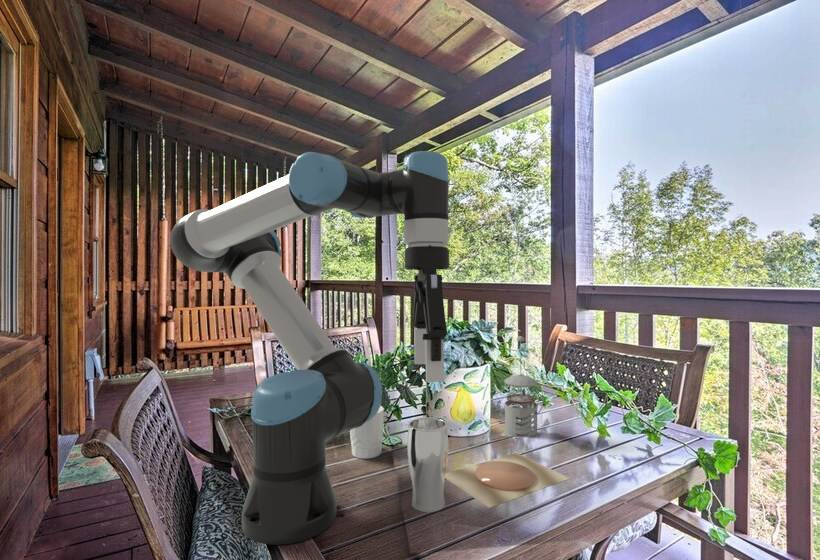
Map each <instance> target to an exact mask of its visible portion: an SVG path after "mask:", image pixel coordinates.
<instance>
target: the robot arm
mask: <svg viewBox="0 0 820 560" xmlns="http://www.w3.org/2000/svg"><path fill="white" fill-rule="evenodd" d="M448 165H449V164H448V159H447V157H446V156H445V155H444V154H442V153H440V152H437V151H432V150H431V151H430V150H428V151H427V150H422V151H421V150H420V151H414V152H411V153H409V154H406V155H405V156H404V158H403V165H402V169H398V170H393V171H386V172H377V171H374V170H371V169H368V168H365V167H362V166H359V165H355V164H353V163H350V162H347V161H345V160H342V159H339V158H336V157H334V156H333V155H330V154H324V153H319V152H315V151H307V152H304V153H302V154H301V155H299V156H298V157H297V158H296V160H295V162H294V163H292V164H291V166H290V169H289V173H288V174H287V175H285V176H283V177H280V178H278V179H276V180H274V181H271V182H269V183H267V184H265V185H263V186H261V187H258V188H255V189H253V190H252V191H250V192H248V193H245V194H243V195H241V196H238V197H237V198H234V199H232V200H230V201H228V202H226V203H224V204H221V205H219V206H217V207H215V208H212V209H205V208H204V209H203V208H202V209H196V210H195V211H193V212H190V213H188V214H186V215H184V216H183V217H181V218H180V219H179V220H178V221H177V222H176V223H175V225H174V226H173V228H172V229H171V232H170V240H169V241H170V242H169V243H170V247H171V251H172V253H173V254H174V256H175V258H176V259H177V260H178V261H179V262H180V263H181V264H182V265H184V266H185V267H187V268H189V269H192V270H194V271H195V272H196V271H197V272H200V273H201V272H202V273H225V274H226V275H227V277H228V278H229V280H230V281H231V283H232V285H234V286H235V288H238V289H242V290H245V291H246V293H247V295H248V297H250V300H252V302H253V303H254V306H255V307H256V309H257V310H258V311H259V313H260V314H261V317H262V318H263V320H265V322H266V324H267V326H268V327H269V329H270V330H271V331H272V333H273V335H274V336H275V338H276V340H277V342H279V344H280V347H282V348H283V351H284V352H285V353H286V355H287V356H288V359H290V361H291V363H292V364H293V366H294V368H295V369H294V370H292V371H283V372H280V373H277V374H274V375H271V376H269V377H267V378H264V379H263V380H261V382H259V383H258V384H257V385H256V386H255V388H254V390H253V393H252V404H251V405H252V407H251V408H250V409H251V411H250V417H251V424H252V425H251V429H252V431H251V432H252V478H251V481H250V484H249V487H248V492H247V494H246V497H245V501H244V504H243V506H242V510H241V530H242V532H243V534H244V535H245V536H246V537H247V538H248V539H249V540H252V541H254V542H256V543H259V544H263V545H271V546H272V545H275V546H277V545H278V546H281V545H289V544H294V543H299V542H302V541H306V540H309V539H312V538H314V537H315V536H317V535H319V534H321V533H323V532H324V531H325V530H327V529H328V528H329V527H330V526H331V525H332V524H333V522H335V519H336V517H337V512H338V511H337V497H336V493H335V491H334V488H333V484H332V481H331V479H330V475H329V473H328V470H327V467H326V443H327V442H328V441H330V440H332V439H334V438H337V437H339V436H341V435H344V434H345V433H347V432H350V430H351V429H354V428H357V427H360V426H362V425H363V424H364V423H365V422H367V421H368V420H370V419H371V418H373V417H374V416H375V415H376V413H377V412H378V410H379V408H380V406H382V405H381V404H382V401H383V400H382V396H383V386H382V385H383V384H382V381H381V378H380V376H379V374H378V373H377V371H376V370H375V368H373V367H372V366H371V365H370V364H367V363H363V362H356V361H355V360H354V358H353V357H352V356H351V354H350V353H349V352H348V350H347V349H346V348H340V347H336V346H335V345H334V343H333V342H332V341H331V339H330V337H328V335H327V334H326V332H325V330H324V329H323V328H322V327H321V325H320V324H319V322H318V321H317V319H316V317H315V316H314V315H313V314H312V312H311V311H310V309H309V308H308V306H307V305H306V303H305V302H304V300H303V299H302V298H301V297H300V295H299V294H298V291H296V289H295V288H294V286H293V285H292V284H291V282H290V280H289V279H288V278H287V277H286V275H285V274H284V272H283V270H282V269H281V265H282V258H281V257H282V253H283V252H282V249H281V248H280V247H281V246H282V243H281V240H280V238H279V237H278V234H277V233H276V232H275V230H278V229H281V228H283V227H286V226H289V225H291V224H293V223H297V222H300V221H301V220H304V219H307V218H309V217H312V216H315V215H319V214H322V213H323V212H326V211H329V210H332V209H336V210H344V211H347V212H348V213H349V214H350V215H351V216H352V217H355V218H368V219H372V218H375V217H383V216H392V215H400V214H401V215H402V214H404V215H403V216H404V221H403V229H404V230H403V234H404V235H403V236H404V237H403V239H404V240H403V242H404V244H405V245H406V246H407V247H406V248H405V250H404V268H405V269H406V270H407V271H418V273H417V274H415V275H414V277H413V278H414V279H413V280H414V284H413V288H414V292H413V293H414V294H413V309H412V310H413V311H412V313H413V314H412V320H411V321H412V323H413V327H414V330H413V333H414V334H413V336H414V342H413V343H414V345H413V346H414V347H413V348H414V365H425V382H426V383H442V382H445V363H444V362H445V352H444V351H445V349H444V347H445V345H444V343H445V342H444V340H445V338H446V337H447V336H448V330H447V325H446V324H447V323H446V322H447V321H446V313H445V304H444V302H445V301H444V295H443V276H442V274H438V273H437V271H439V270H441V271H442V270H448V269H449V268H450V249H449V248H448V247H446V245H447V244H449V243H450V240H449V239H450V237H449V235H450V234H449V233H451V232H452V231H453V228H452V226H449V224H450V223H449V219H450V218H449V192H450V191H449V190H450V189H449V183H450V179H449V178H450V177H449V166H448Z"/></svg>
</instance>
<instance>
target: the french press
mask: <svg viewBox="0 0 820 560" xmlns="http://www.w3.org/2000/svg"><path fill="white" fill-rule="evenodd" d="M516 342H519V348H520V349H519V352H520V353H519V355H520V356H519V360H520V364H519V366H520V368H519V372H520V373H519V374H513V375H510V376H509V377H507V378H506V379H504V384H506V385H507V386H508V387H509V386H510V387H513V388H519V389H520V390H522V388H524V389H525V388H526V389H527V388H529V390H530V392H535V391H536V393H537V397H536V396H535V397H534V396H533V395H531V394H524V393H511V394H507V396H506V397H505V398H506V401H505V402H504V418H505V419H504V428H505V429H504V431H503V432H502V433H501V434H500V436H501V437H506V436H509V437H510V436H516V437H518V436H521V438H522V437H525V438H526V437H534V436H536V435H539V433H538V415H539V414H540V412H541V411H542V410H543V406H544V401H545V400H544V399H545V398H544V392H543V390H542V388H541V387H539V386H538V384H539V382H538V381H537V380H536V379H535V378H533V377H531V376H529V375H524V374H522V342H525V337H524V336H522V335H519V336H517V337H516ZM533 387H534V389H532V388H533ZM538 389H539V391H540V392H541V396H542V404H541V408H540V409H539V410H538V406H539V401H540V393H539V391H538ZM536 398H537V399H536ZM536 400H537V401H536ZM535 401H536V402H537V403H536V402H535ZM532 403H533V407H532ZM514 404H515V405H514ZM512 405H513V406H512ZM516 405H517V406H516ZM518 405H519V406H518ZM520 406H521V407H520Z"/></svg>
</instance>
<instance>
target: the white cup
mask: <svg viewBox="0 0 820 560" xmlns="http://www.w3.org/2000/svg"><path fill="white" fill-rule="evenodd" d="M384 410H385V408H384V407H383V406H382V405H380V408H379V410H378V412H377V413H376V415H375V416H374V417H373V418H371V419H370V420H368V421H367V422H365V423H364V424H363V425H362V426H360V427H357V428H354V429H351V430H349V437H350V444H351V445H350V446H351V455H352V456H353V457H355V458H358V459H362V460H363V459H365V460H366V459H367V460H368V459H374V458H377V457H379V456H380V455H381V454H382V452H383V451H382V447H383V445H382V444H383V443H382V441H383V437H384V436H383V435H384V433H383V432H384V414H385V412H384Z"/></svg>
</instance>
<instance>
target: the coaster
mask: <svg viewBox="0 0 820 560" xmlns="http://www.w3.org/2000/svg"><path fill="white" fill-rule="evenodd" d="M476 478H477V480H478V481H479V482H481V483H482V484H484V485H486V486H488V487H490V488H494V489H498V490H505V491H517V490H523V489H526V488H528V487H530V486H532V485H533V483H534V474H533V472H532V471H531V470H530V469H528V468H527V467H525V466H522V465H520V464H517V463H512V462H506V461H493V462H487V463H484V464H481V465H480V466H478V467H477V469H476Z"/></svg>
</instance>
